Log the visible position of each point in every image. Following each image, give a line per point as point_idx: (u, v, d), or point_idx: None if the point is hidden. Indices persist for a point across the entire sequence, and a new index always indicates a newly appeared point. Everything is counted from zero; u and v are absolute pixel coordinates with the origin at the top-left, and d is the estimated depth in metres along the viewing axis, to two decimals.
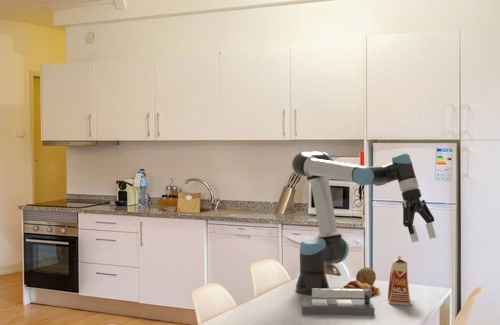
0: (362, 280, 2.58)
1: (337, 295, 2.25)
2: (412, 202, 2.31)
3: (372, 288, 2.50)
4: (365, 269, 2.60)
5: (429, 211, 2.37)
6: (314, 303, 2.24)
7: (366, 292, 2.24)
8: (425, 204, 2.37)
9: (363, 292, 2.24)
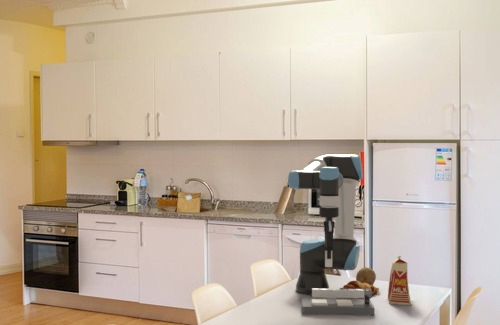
0: (362, 280, 2.58)
1: (337, 295, 2.25)
2: (325, 219, 2.22)
3: (372, 288, 2.50)
4: (365, 269, 2.60)
5: (326, 239, 2.15)
6: (314, 303, 2.24)
7: (366, 292, 2.24)
8: (326, 230, 2.14)
9: (363, 292, 2.24)
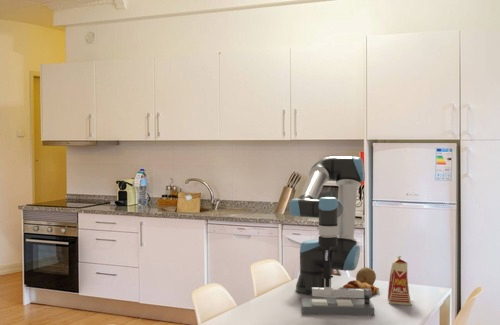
0: (362, 280, 2.58)
1: (337, 295, 2.26)
2: None
3: (372, 288, 2.50)
4: (365, 269, 2.60)
5: (323, 268, 2.21)
6: (314, 303, 2.24)
7: (366, 292, 2.24)
8: None
9: (363, 292, 2.25)
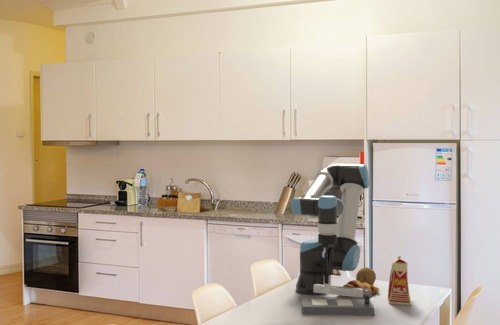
0: (362, 280, 2.58)
1: (337, 293, 2.29)
2: None
3: (372, 288, 2.50)
4: (365, 269, 2.60)
5: None
6: (314, 303, 2.24)
7: (364, 292, 2.24)
8: (321, 257, 2.26)
9: (362, 292, 2.25)
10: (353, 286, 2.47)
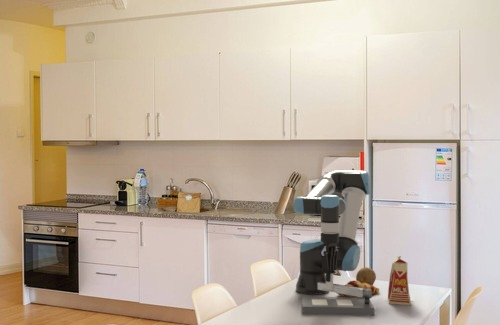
0: (362, 280, 2.58)
1: (339, 291, 2.32)
2: None
3: (372, 288, 2.50)
4: (365, 269, 2.60)
5: (322, 263, 2.31)
6: (314, 303, 2.24)
7: (363, 292, 2.25)
8: (321, 255, 2.30)
9: (362, 291, 2.26)
10: (353, 286, 2.48)
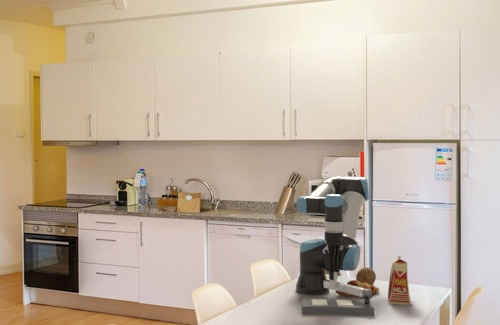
0: (362, 280, 2.58)
1: (341, 290, 2.34)
2: None
3: (372, 288, 2.51)
4: (365, 269, 2.60)
5: None
6: (314, 303, 2.24)
7: (363, 291, 2.25)
8: None
9: (361, 291, 2.26)
10: None
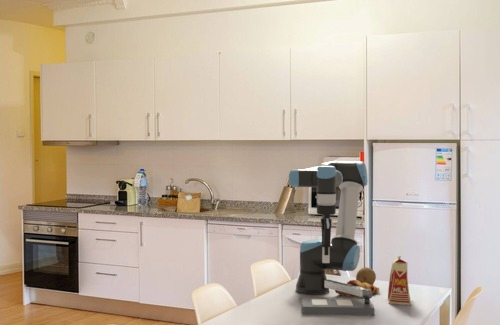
0: (362, 280, 2.58)
1: (342, 290, 2.34)
2: (322, 216, 2.29)
3: (371, 288, 2.51)
4: (365, 269, 2.60)
5: (324, 236, 2.22)
6: (314, 303, 2.24)
7: (363, 291, 2.25)
8: (324, 228, 2.21)
9: (361, 291, 2.26)
10: None
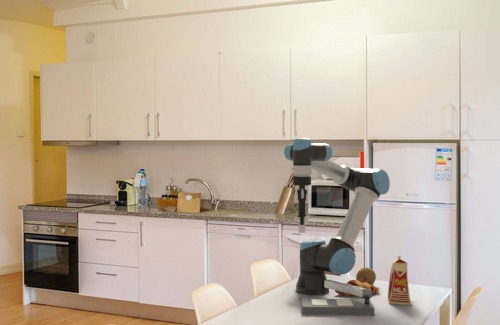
0: (362, 280, 2.58)
1: (342, 290, 2.34)
2: None
3: (371, 288, 2.51)
4: (365, 269, 2.60)
5: (299, 206, 2.29)
6: (314, 303, 2.24)
7: (363, 291, 2.25)
8: (299, 198, 2.28)
9: (361, 291, 2.26)
10: None
